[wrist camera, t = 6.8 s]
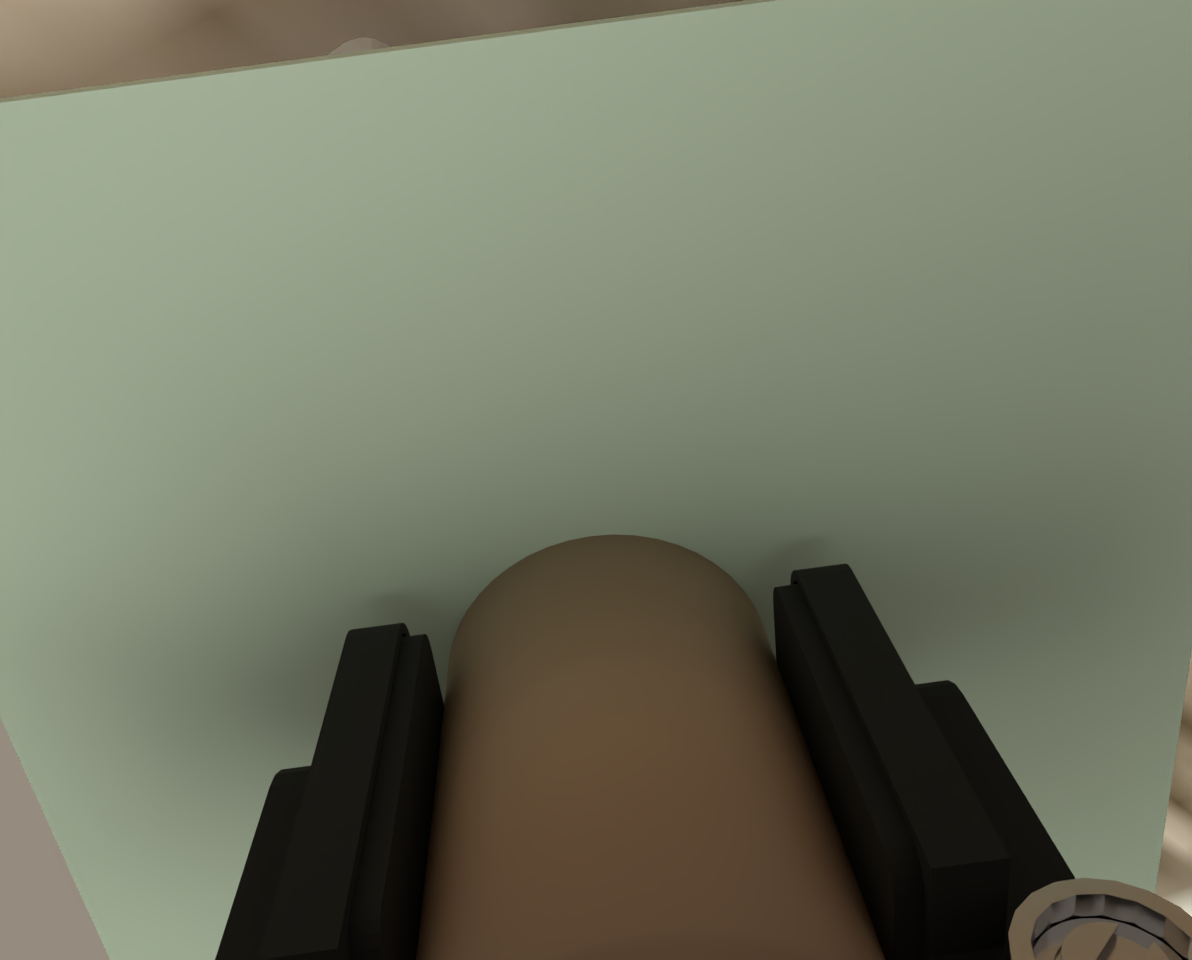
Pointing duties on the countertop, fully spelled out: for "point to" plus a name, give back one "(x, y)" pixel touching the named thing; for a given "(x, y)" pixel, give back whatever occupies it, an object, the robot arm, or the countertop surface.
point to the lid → (599, 446)
